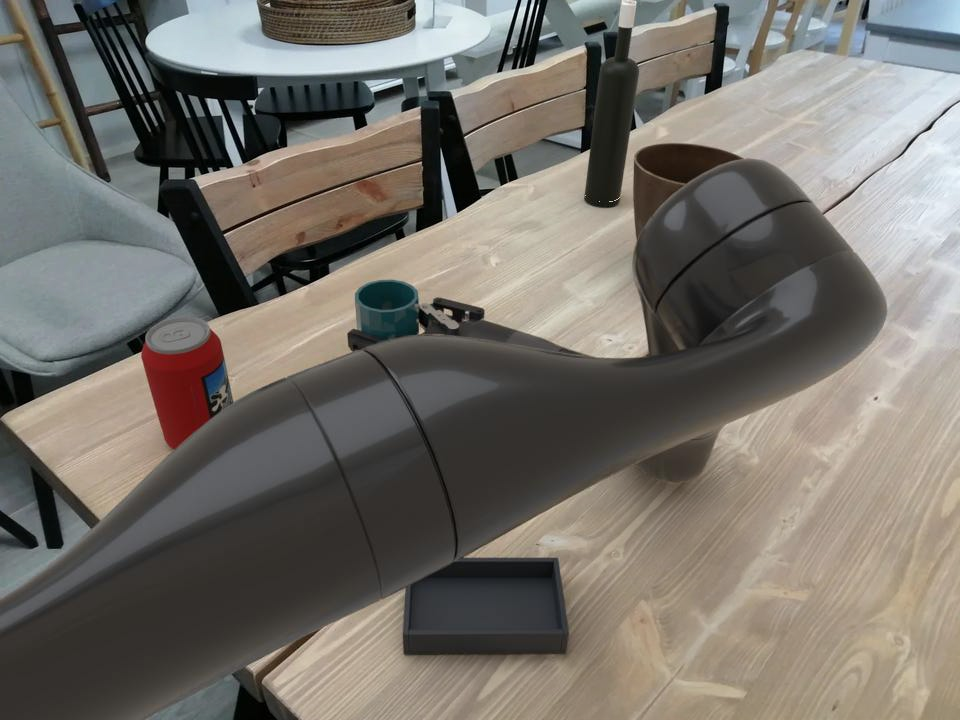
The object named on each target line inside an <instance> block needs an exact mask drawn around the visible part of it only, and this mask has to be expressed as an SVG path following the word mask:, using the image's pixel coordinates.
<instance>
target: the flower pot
mask: <svg viewBox="0 0 960 720" xmlns="http://www.w3.org/2000/svg"><path fill="white" fill-rule="evenodd" d="M740 159H745V158H744V157H743V156H740V155H738V154H737V153H733V152H730V151H728V150H724V149H721V148H717V147H714V146H709V145H703V144H696V143H688V142H687V143H686V142H665V143H656V144H651V145H647V146H643V147H641V148H640V149H639V150H637V151H636V153H634V157H633V182H632V187H633V188H632V189H633V190H632V191H633V192H632V193H633V194H632V198H633V201H632V202H633V217H634V229H635V230H634V231H635V238H636V240H637V239H638V237H639V235H640V233H641V231H642V230H643V228H644V226H645V225H646V223H647V222H648V220H649V219H650V217H651V216H652V215H653V214H654V213H655V211H656V210H657V209H658V208H659V207H660V206H661V205H662V204H663V203H664V202H665V201H666V200H667V199H668V198H669V197H670V196H671V195H672V194H673V193H675V192H676V191H677V190H679V189H680V188H681V187H683V186H684V185H685V184H687V183H688V182H690V181H691V180H693V179H694V178H696V177H698V176H699V175H701V174H703V173H705V172H707V171H709V170H711V169H713V168H715V167H717V166H719V165H721V164H724V163H727V162H730V161H734V160H740Z"/></svg>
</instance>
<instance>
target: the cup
mask: <svg viewBox="0 0 960 720" xmlns="http://www.w3.org/2000/svg"><path fill="white" fill-rule="evenodd" d="M419 297H420V296H419V291H418V289H417V288H416V287H414V286H413V284H410V283H408V282H406V281H403V280H398V279H397V280H396V279H377V280H374V281H369V282H367V283H365V284H363V285H361V286H360V287H358V288H357V290H356V292H354V308H355V320H356V322H355V323H356V330H359V331H362V332H365V333H368V334H371V335H374V336H377V337H380V338H381V339H382V340H388V339H393V338H398V337H403V336H408V335H420V323H419V305H420V303H419V302H420V301H419V300H420V298H419Z"/></svg>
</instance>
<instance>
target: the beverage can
mask: <svg viewBox="0 0 960 720" xmlns="http://www.w3.org/2000/svg"><path fill="white" fill-rule="evenodd" d="M140 353H141V354H140V356H141V361H142V364H143V368H144V369H143V370H144V373H145V376H146V380H147V383H148V387H149V391H150V394H151V398H152V401H153V404H154V408H155V412H156V415H157V418H158V422H159V426H160V429H161V431H162V435H163V438H164V441H165V443H166V444H167V446H168V447H169V448H171V449H172V450H173V451H174V450H175V449H176V448H177V447H178V446H179V445H180V444H181V443H183V442H184V441H185V440H186V439H187V438H188V437H189V436H190V435H192V434H193V433H194V432H195V431H196V430H197V429H199V428H200V427H201V426H202V425H203V424H205V423H206V422H207V421H208V420H210V419H211V418H212V417H214V416H215V415H216V414H218V413H219V412H220V411H222V410H223V409H224V408H226V407H227V406H229V405H231V404H232V403H234V398H233V394H232V388H231V384H230V379H229V374H228V367H227V364H226V360H225V354H224V350H223V346H222V342H221V339H220V337H219V336H218V335H217V333H216V332H215V331H214V330H213V329H212V328H210V325H209V324H208V322H206V321H205V320H203V319H201V318H198V317H194V316H178V317H172V318H168V319H165V320H162V321H159V322H158V323H156V324H155V325H153V326H151V327H150V328H149V329H148V330H147V332H146V334H145V341H144V344H143V347H142V349H141V352H140Z"/></svg>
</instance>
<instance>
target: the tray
mask: <svg viewBox="0 0 960 720" xmlns="http://www.w3.org/2000/svg"><path fill="white" fill-rule="evenodd" d="M567 617H568V616H567V611H566V604H565V596H564V590H563V582H562V575H561V569H560V561H559V557H463V558H461V559H459V560H458V561H456V562H452V563H451V564H450V565H448V566H446V567H444V568H443V569H441V570H439V571H437V572H435V573H433V574H431V575H429V576H427V577H425V578H423V579H421V580H419V581H417V582H415V583H413V584H412V585H410V586H408V587H406V588H405V592H404V608H403V622H402V623H403V624H402V651H403V655H404V656H416V655H417V656H420V655H421V656H422V655H423V656H426V655H427V656H428V655H429V656H433V655H435V656H438V655H439V656H440V655H443V656H444V655H445V656H446V655H565V654H566V653H567V649H568V641H569V636H570V631H569V624H568V618H567Z"/></svg>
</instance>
